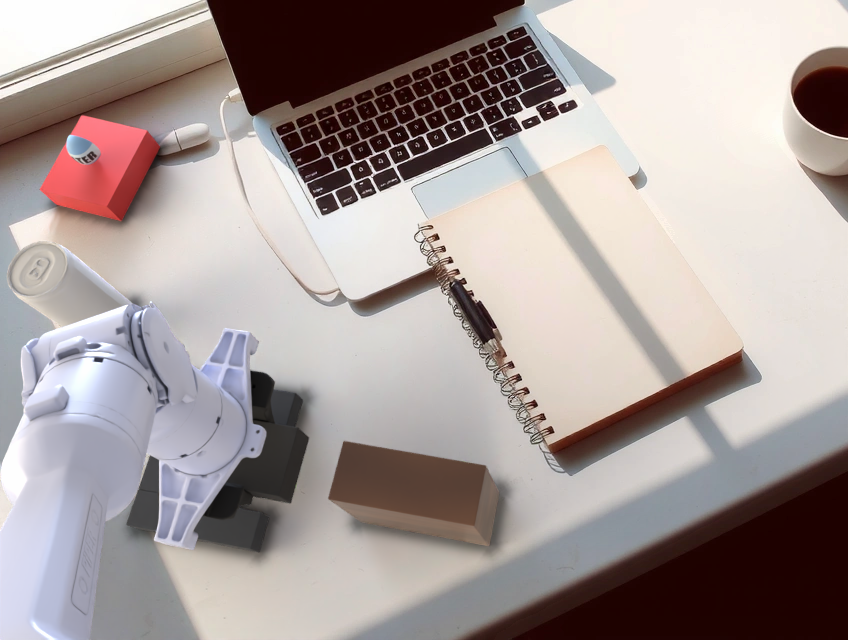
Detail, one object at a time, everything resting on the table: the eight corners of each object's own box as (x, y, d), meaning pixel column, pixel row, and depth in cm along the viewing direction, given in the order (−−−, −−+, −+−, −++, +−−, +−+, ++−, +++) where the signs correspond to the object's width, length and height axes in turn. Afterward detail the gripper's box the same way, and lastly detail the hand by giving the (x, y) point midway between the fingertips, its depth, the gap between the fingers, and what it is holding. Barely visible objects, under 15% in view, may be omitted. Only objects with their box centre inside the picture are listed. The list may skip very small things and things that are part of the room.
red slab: (121, 221, 83) (86, 186, 77) (56, 204, 84) (16, 169, 79) (160, 146, 86) (129, 108, 80) (96, 131, 87) (61, 92, 82)
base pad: (259, 552, 70) (250, 549, 68) (137, 529, 71) (125, 524, 69) (303, 399, 75) (296, 392, 73) (188, 380, 76) (178, 372, 74)
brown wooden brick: (489, 546, 69) (474, 526, 60) (360, 522, 70) (327, 499, 62) (499, 492, 70) (486, 465, 62) (373, 469, 72) (343, 440, 63)
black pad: (291, 503, 68) (278, 496, 65) (190, 485, 69) (173, 476, 67) (309, 437, 70) (298, 427, 67) (211, 420, 71) (196, 409, 69)
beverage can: (75, 342, 78) (-9, 286, 67) (105, 292, 80) (28, 230, 69) (122, 361, 77) (45, 308, 66) (152, 310, 79) (81, 250, 68)
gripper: (199, 545, 54) (272, 571, 66) (271, 315, 60) (326, 378, 72) (89, 523, 55) (181, 553, 67) (170, 299, 61) (241, 364, 73)
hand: (250, 461), depth 70 cm, fingers closed on black pad, 5 cm apart
